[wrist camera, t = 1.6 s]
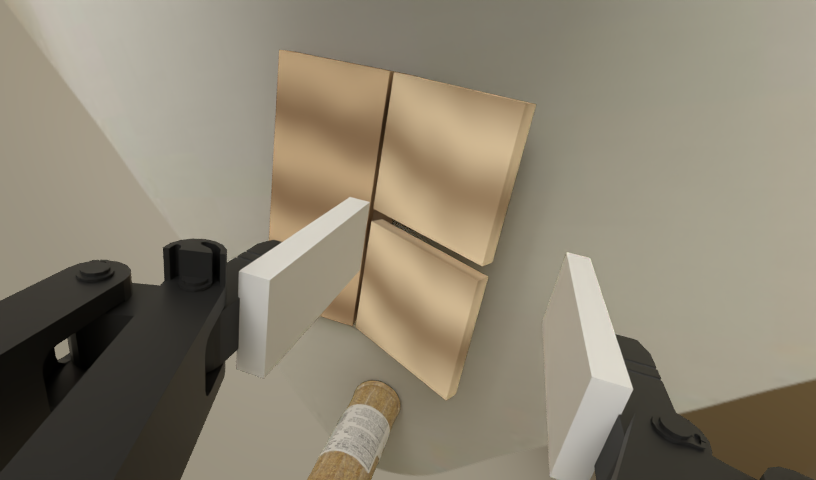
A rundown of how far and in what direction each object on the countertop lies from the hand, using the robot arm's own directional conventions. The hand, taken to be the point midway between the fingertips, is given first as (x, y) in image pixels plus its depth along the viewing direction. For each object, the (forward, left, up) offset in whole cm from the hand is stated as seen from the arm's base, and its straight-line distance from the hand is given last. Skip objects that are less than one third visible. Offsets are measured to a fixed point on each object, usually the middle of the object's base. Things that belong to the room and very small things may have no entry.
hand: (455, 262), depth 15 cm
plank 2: (+10, -3, -14) cm, 18 cm away
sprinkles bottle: (+23, -5, -17) cm, 29 cm away
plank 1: (0, -3, -14) cm, 14 cm away
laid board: (+5, -12, -17) cm, 21 cm away
